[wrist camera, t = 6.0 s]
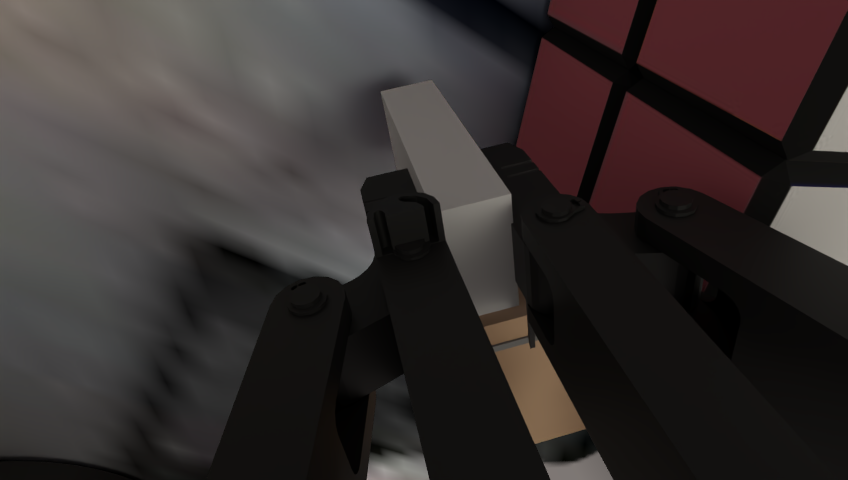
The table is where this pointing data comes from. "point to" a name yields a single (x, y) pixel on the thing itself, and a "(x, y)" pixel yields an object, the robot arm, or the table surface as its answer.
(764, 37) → the puzzle cube
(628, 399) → the robot arm
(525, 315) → the brown wooden plank
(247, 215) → the table surface
